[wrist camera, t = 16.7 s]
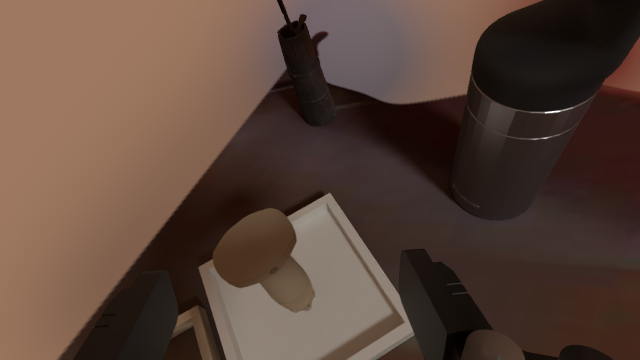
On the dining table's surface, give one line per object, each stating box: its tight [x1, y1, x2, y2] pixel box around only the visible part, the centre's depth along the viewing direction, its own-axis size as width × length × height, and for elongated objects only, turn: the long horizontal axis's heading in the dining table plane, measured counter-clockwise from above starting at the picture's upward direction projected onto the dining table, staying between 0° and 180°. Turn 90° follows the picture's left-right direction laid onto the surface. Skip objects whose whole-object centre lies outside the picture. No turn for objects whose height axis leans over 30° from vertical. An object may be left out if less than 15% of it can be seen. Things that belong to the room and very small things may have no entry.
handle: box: [213, 208, 315, 313], centre depth 32 cm, size 5×6×15 cm
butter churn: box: [277, 0, 337, 126], centre depth 43 cm, size 9×10×28 cm
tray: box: [198, 193, 414, 360], centre depth 37 cm, size 18×18×2 cm
